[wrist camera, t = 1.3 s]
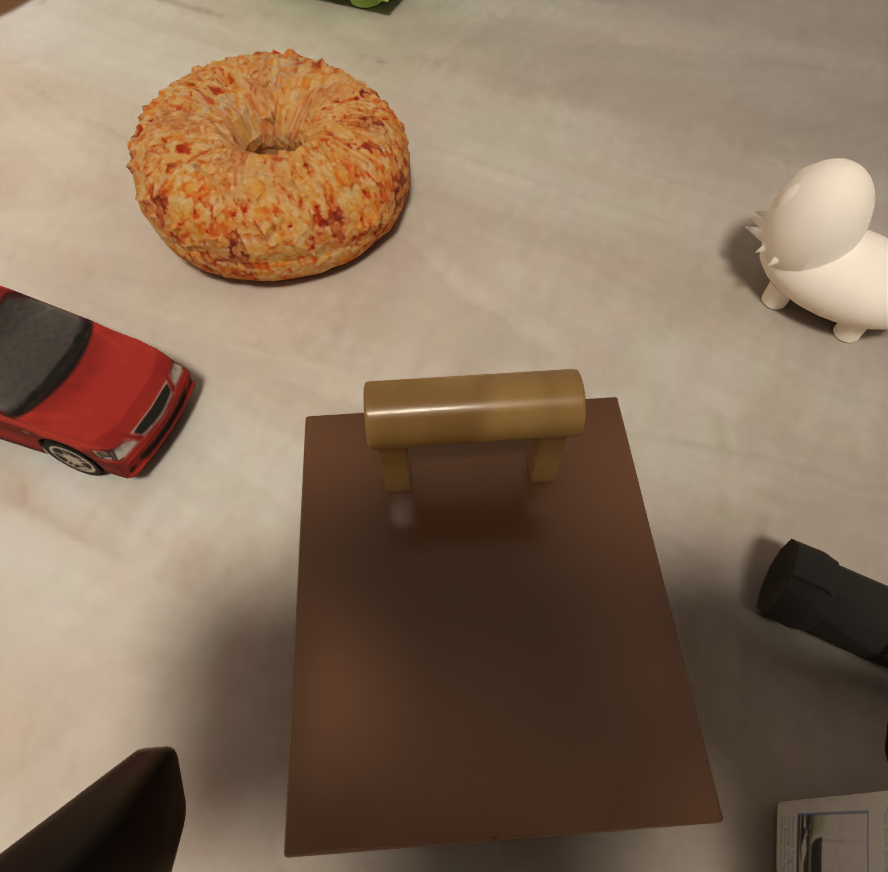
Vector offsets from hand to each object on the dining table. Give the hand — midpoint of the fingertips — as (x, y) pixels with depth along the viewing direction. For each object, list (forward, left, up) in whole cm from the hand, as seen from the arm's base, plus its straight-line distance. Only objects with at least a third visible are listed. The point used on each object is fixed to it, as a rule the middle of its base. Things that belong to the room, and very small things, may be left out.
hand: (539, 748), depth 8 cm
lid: (+4, +3, -8) cm, 9 cm away
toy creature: (+24, -1, -13) cm, 28 cm away
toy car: (+1, +24, -13) cm, 27 cm away
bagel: (+16, +23, -13) cm, 31 cm away
